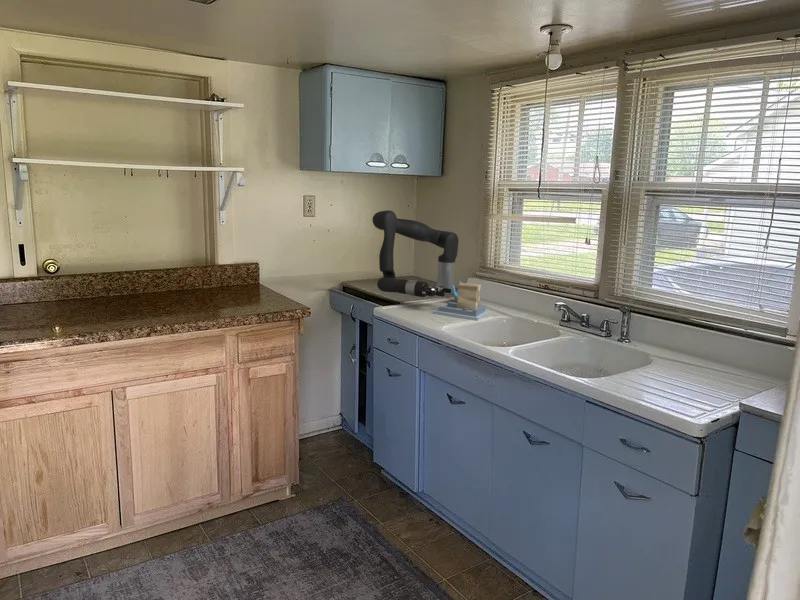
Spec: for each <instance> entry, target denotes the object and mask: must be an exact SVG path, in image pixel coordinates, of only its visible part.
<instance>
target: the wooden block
mask: <svg viewBox="0 0 800 600" xmlns="http://www.w3.org/2000/svg"><path fill="white" fill-rule="evenodd" d="M480 285H481V284H474V283H466V282H462V283H461V284H460V283H458V288H457V289H458V302H457V301H456V303H457V308H462V309H463V308H467V309H468V310H474V309H476V308H478V307H479V306H480V296H481V287H480Z"/></svg>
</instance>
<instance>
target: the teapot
mask: <svg viewBox="0 0 800 600" xmlns="http://www.w3.org/2000/svg"><path fill="white" fill-rule="evenodd" d="M461 283H463V282H462V281H461V280H460V281H459V284H461ZM479 285H480V288H481V286H482V285H483V284H482V283H481V284H479ZM451 286H452V294H451V295H452V297H453V298H454V300H455V301H456V303H457V302H458V288H457V290H456V287H455V285H454V286H453V285H451Z"/></svg>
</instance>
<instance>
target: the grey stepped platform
mask: <svg viewBox="0 0 800 600" xmlns="http://www.w3.org/2000/svg"><path fill="white" fill-rule="evenodd" d="M486 308H487V307H486V304H482V305H479V307H478V308H476V309H474V310H468V309H467V308H463V309H462V308H457V302H454V301H453V302H452V301H448V302H447V303H446V304H445V305H439V306H438V308H436V309H434V310H433V311H432V314H434V315H439V316H440V315H441V316H445V315H446V316H447V317H452V318H459V319H464V320H471V321H477V322H478V321H479V320H481V319H483V318H485V317H486V316H489V314H490V311H489V310H486Z"/></svg>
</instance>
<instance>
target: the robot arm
mask: <svg viewBox="0 0 800 600" xmlns="http://www.w3.org/2000/svg"><path fill="white" fill-rule="evenodd" d="M371 220H372V223H373V226H374V227H375V228H376V229H378V230H381V231H383V241H382V243H381V244H382V245H381V247H380V250H379V256H378V257H379V258H378V259H379V260H378V262H379V264H378V265H379V266H378V267H379V271H380V272H381V273H382V277H381V278H379V279H378V280H377V284H376V286H377V288H378V290H380V291H381V292H386V293H399V294H404V295H409V296H413V297H419V298H420V297H421V298H426V297H445V295H453V294H452V286H451V285H453V286H454V287H455V285H454V283H455V271H456V270H455V268H456V259H457V257H458V250H459V237H458V234H457V233H455V232H454V231H453V232H452V231H448V230H445V231H444V230H439V229H434V228H432V227H430V226H429V225H428V224H426V223H423V222H421V221H417V220H413V219H404V218H397V214H396V213H395V212H394V211H393V210H387V209H386V210H380V211H377V212H376V213H374V215H373V216H372V219H371ZM396 234H398V235H401V236H404V237H406V238H409V239H413V240H415V241H420V242H426V243H430V244H432V245H435V246H437V247H439V248H441V249H443V252H442V254H440V255H438V257H437V270H436V271H437V272H436V273H437V275H436V285H435V284H434V285H430V286H429V283H428V282H427V281H422V280H417V279H402V278H401V279H397V278H396V273H395V269H394V267H395V266H394V264H395V263H394V248H395V247H394V246H395V241H396Z"/></svg>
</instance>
